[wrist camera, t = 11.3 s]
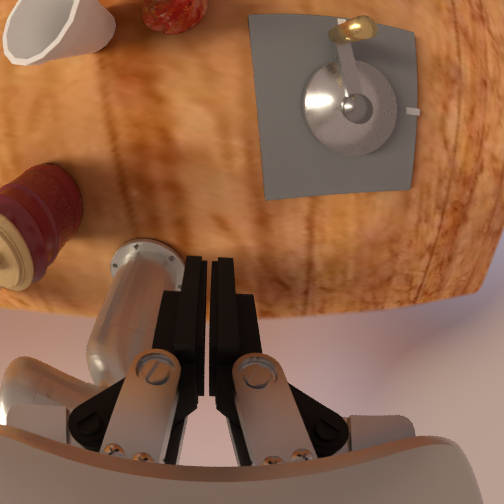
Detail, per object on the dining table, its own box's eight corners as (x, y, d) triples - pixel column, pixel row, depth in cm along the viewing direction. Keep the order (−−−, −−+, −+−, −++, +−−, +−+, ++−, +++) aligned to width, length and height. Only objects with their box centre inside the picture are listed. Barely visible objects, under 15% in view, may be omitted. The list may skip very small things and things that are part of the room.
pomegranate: (168, 48, 27) (232, 26, 22) (119, 46, 21) (180, 13, 16) (167, 2, 23) (229, -25, 18) (120, -4, 18) (180, -44, 13)
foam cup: (133, 46, 24) (85, 31, 13) (71, 76, 24) (9, 83, 14) (121, -10, 19) (75, -42, 8) (60, 21, 19) (1, 11, 8)
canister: (60, 145, 29) (-24, 198, 15) (99, 220, 37) (44, 303, 22) (11, 185, 31) (-58, 243, 16) (47, 247, 38) (-4, 321, 23)
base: (407, 186, 37) (412, 190, 36) (264, 196, 37) (266, 201, 36) (410, 33, 24) (417, 33, 23) (247, 17, 24) (248, 14, 22)
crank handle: (393, 143, 32) (433, 164, 24) (312, 160, 33) (338, 185, 25) (372, 28, 23) (413, 18, 15) (280, 35, 24) (299, 18, 16)
